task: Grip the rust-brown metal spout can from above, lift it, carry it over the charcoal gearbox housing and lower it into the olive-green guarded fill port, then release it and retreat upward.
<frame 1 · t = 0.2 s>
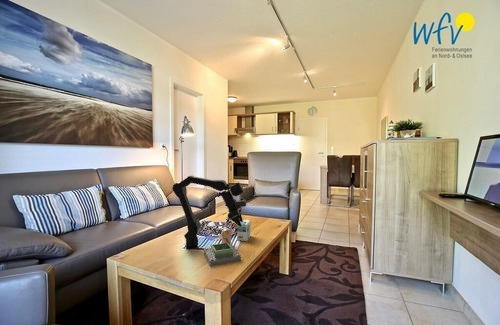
hand: (241, 224, 137), 14 cm above the table, tool tilted 30°, fingers open, 9 cm apart
light bulb box: (244, 238, 154), on the table
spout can: (226, 244, 142), on the table
gearbox housing: (221, 256, 126), on the table
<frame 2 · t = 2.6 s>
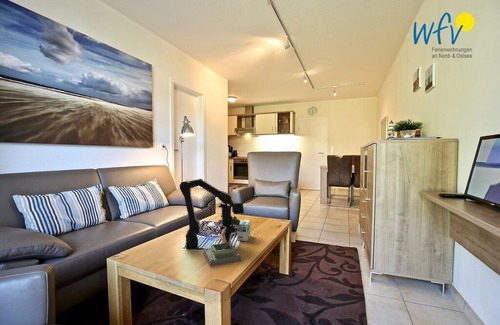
hand: (226, 239, 142), 3 cm above the table, tool pointing down, fingers closed on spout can, 5 cm apart
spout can: (226, 244, 142), on the table, touching gripper
everything else where it was.
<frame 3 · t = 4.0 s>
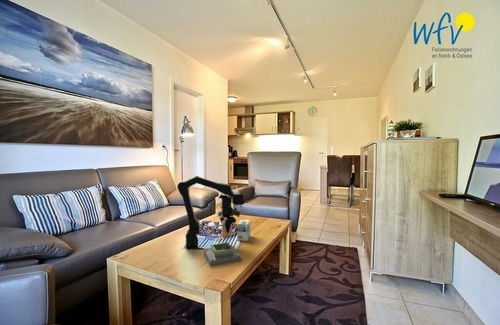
hand: (226, 231, 142), 9 cm above the table, tool pointing down, fingers closed on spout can, 5 cm apart
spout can: (226, 236, 142), point 5 cm above the table, touching gripper
everything else where it was.
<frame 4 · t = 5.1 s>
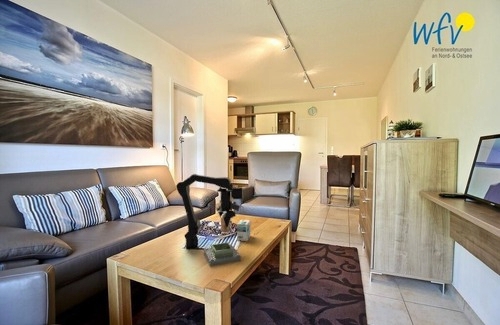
hand: (225, 225, 138), 13 cm above the table, tool pointing down, fingers closed on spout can, 5 cm apart
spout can: (225, 230, 138), point 10 cm above the table, touching gripper
everything else where it was.
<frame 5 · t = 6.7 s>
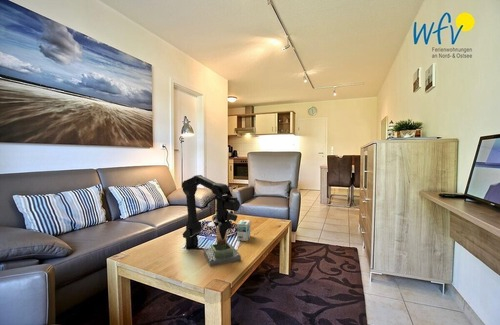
hand: (221, 237, 125), 10 cm above the table, tool pointing down, fingers closed on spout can, 5 cm apart
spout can: (221, 243, 126), point 7 cm above the table, touching gripper
everything else where it was.
when the fingers open (7 cm above the table, at t = 7.9 s): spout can drops 1 cm, resting on gearbox housing.
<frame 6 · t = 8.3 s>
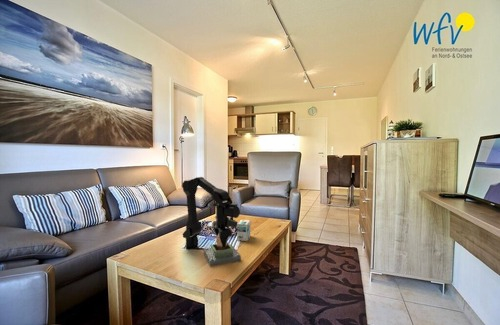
hand: (221, 243, 126), 7 cm above the table, tool pointing down, fingers open, 9 cm apart
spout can: (221, 252, 126), point 2 cm above the table, touching gearbox housing
everything else where it was.
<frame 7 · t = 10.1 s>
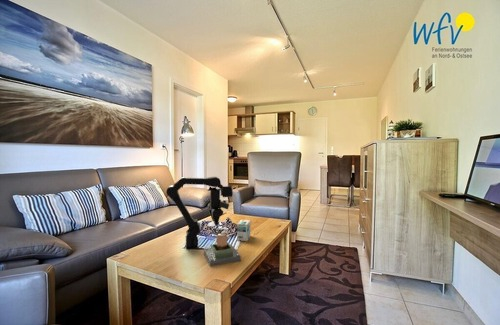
hand: (215, 223, 143), 13 cm above the table, tool pointing down, fingers open, 9 cm apart
nothing on the table moved.
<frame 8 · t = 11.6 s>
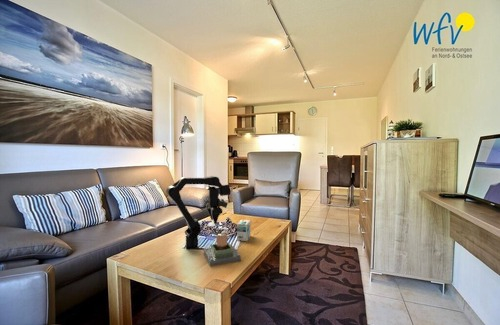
hand: (213, 221, 146), 13 cm above the table, tool pointing down, fingers open, 9 cm apart
nothing on the table moved.
at the end: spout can 0.1 cm off-centre on the gearbox housing, point 2.5 cm above the gearbox housing's base; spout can tilted 0°; the gripper is holding nothing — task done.
